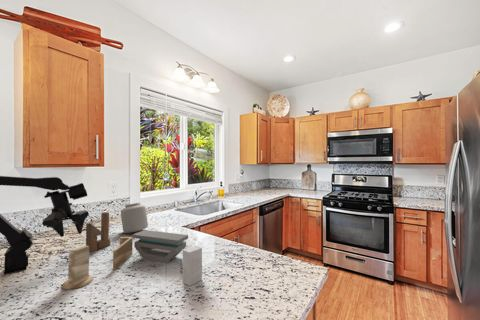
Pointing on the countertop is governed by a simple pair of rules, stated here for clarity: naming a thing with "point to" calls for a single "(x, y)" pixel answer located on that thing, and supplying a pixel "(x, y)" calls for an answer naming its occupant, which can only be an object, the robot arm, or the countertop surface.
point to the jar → (134, 218)
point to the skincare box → (192, 265)
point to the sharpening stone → (159, 245)
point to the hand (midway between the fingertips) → (71, 235)
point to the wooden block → (94, 232)
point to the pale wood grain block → (78, 264)
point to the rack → (122, 252)
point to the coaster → (81, 284)
